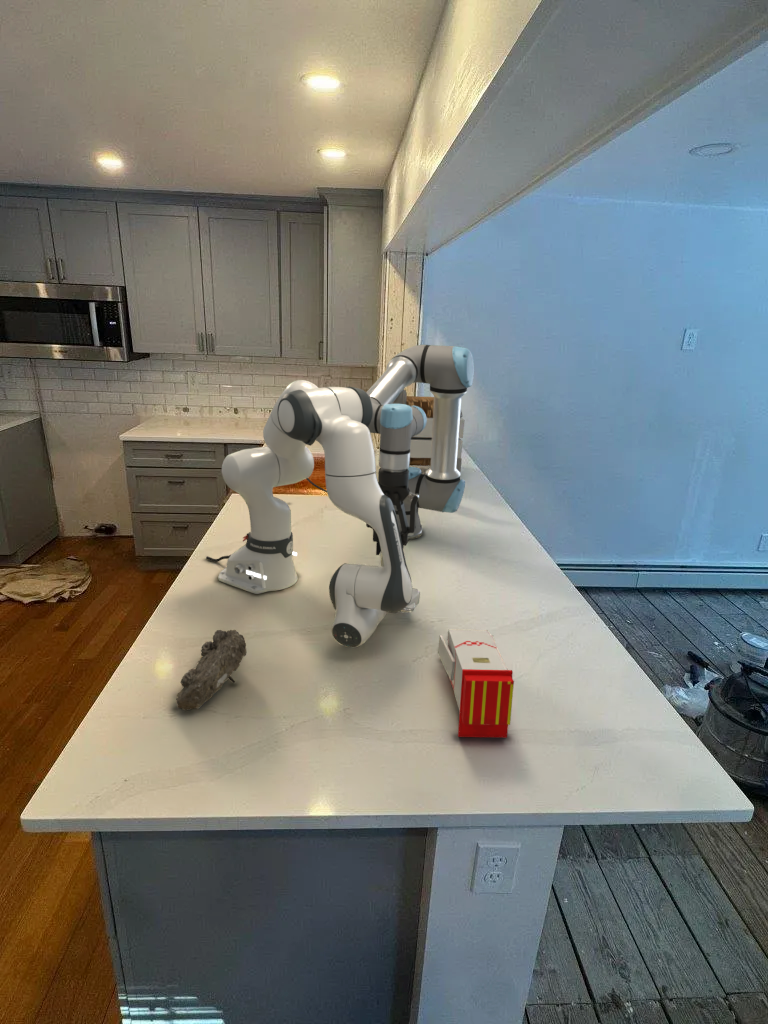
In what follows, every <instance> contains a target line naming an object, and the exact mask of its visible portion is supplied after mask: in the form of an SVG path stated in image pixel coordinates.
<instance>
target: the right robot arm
mask: <svg viewBox="0 0 768 1024" xmlns="http://www.w3.org/2000/svg"><path fill="white" fill-rule="evenodd" d="M474 363H475V361H474V357H473V354H472V351H471V350H470V349H469V348H467V347H461V346H456V345H435V344H416V345H413V346H410V347H408V348H406V349H404V350H402V351H400V352H398V353H397V354H396V355H395V356H393V357H392V358H391V359H390V360H389V361H388V363H387V365H386V370H385V371H384V372H383V373H382V374H381V375H380V376H379V377H378V379H377V380H376V381H375V382H374V383H372V385H371V387H370V388H369V389H368V390H367V391H365V392H366V393H367V394H368V396H369V397H370V400H371V403H372V407H373V415H372V420H371V422H370V424H369V426H368V429H369V431H370V433H371V434H378V435H379V450H378V451H379V452H378V453H379V454H378V467H379V469H378V473H377V474H378V477H377V481H378V484H379V486H380V488H381V490H382V492H383V493H384V495H385V496H387V497H389V498H390V499H391V501H392V503H393V506H394V509H395V513H396V517H397V521H398V526H399V531H400V536H401V541H402V546H403V549H404V547H405V546H407V544H408V542H409V541H410V540H415V539H418V538H420V537H421V536H422V535H423V525H422V524H421V518H420V515H419V509H424V510H430V511H435V512H441V513H450V514H453V513H456V512H457V511H458V509H459V508H460V505H461V502H462V500H463V496H464V493H465V492H464V491H465V489H466V480H465V479H463V478H461V474H460V472H459V471H458V470H457V469H456V465H457V451H458V438H459V424H460V411H461V412H462V397H463V396H464V395H466V394H467V393H468V388H471V387H472V386H473V384H474V376H475V364H474ZM413 383H418V384H419V383H420V384H429V392H430V393H431V394H432V395H433V397H434V409H433V428H432V446H431V465H430V466H429V468H427V469H426V470H425V473H422V469H421V468H419V467H417V466H409V463H410V445H411V438H412V437H414V436H416V435H418V434H420V432H421V431H422V430H423V429H424V428H425V426H426V423H427V417H426V414H425V412H424V411H423V410H422V409H421V408H420V407H418V406H409V405H405V404H392V403H393V402H394V401H395V399H396V398H397V397H398V396H399V394H400V393H401V392H402V391H403V389H404V390H405V388H407V387H409V386H412V385H413ZM305 480H306V481H307V482H308V483H309V484H311V485H312V486H313V487H315V488H317V489H318V490H320V491H322V492H325V493H327V489H324V488H323V487H320V486H319V485H317V484H316V483H314V482H313V481H311V479H309V477H308V478H306V479H305ZM365 526H366V527H367V528H370V529H372V542H374V543H376V545H375V546H376V547H375V556H380V555H381V547H380V542H379V538H378V535H377V533H376V532H375V530H374V529H373V528H372V527H371V526H370V525H368V524H367V523H365Z"/></svg>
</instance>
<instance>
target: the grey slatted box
mask: <svg viewBox="0 0 768 1024" xmlns="http://www.w3.org/2000/svg"><path fill="white" fill-rule="evenodd" d="M407 394H408V393H407V390H406V389H405V388H404V389H403V391H402V392H401V393H400V394H399V396H398V397H397V398H396V399H395V401H394V402H393V403H392V404H405V405H409V406H418V407H420V408H421V409H422V410H423V411H424V412H425V414H426V417H427V423H426V426H425V428H424V429H423V430H422V431H421V432H420V434H418V435H416V436H414V437H412V438H411V445H410V463H409V467H417V466H418V467H430V465H431V446H432V428H433V409H434V396H415V395H414V396H413V395H412V396H411V395H407ZM464 429H465V419H464V418H463V411H462V410H461V411H460V424H459V438H458V451H457V465H456V469H457V470H458V471H459V472H460V475H461V472H462V461H463V460H462V453H463V442H464V441H463V440H462V439H463V438H464V431H465V430H464Z"/></svg>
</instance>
